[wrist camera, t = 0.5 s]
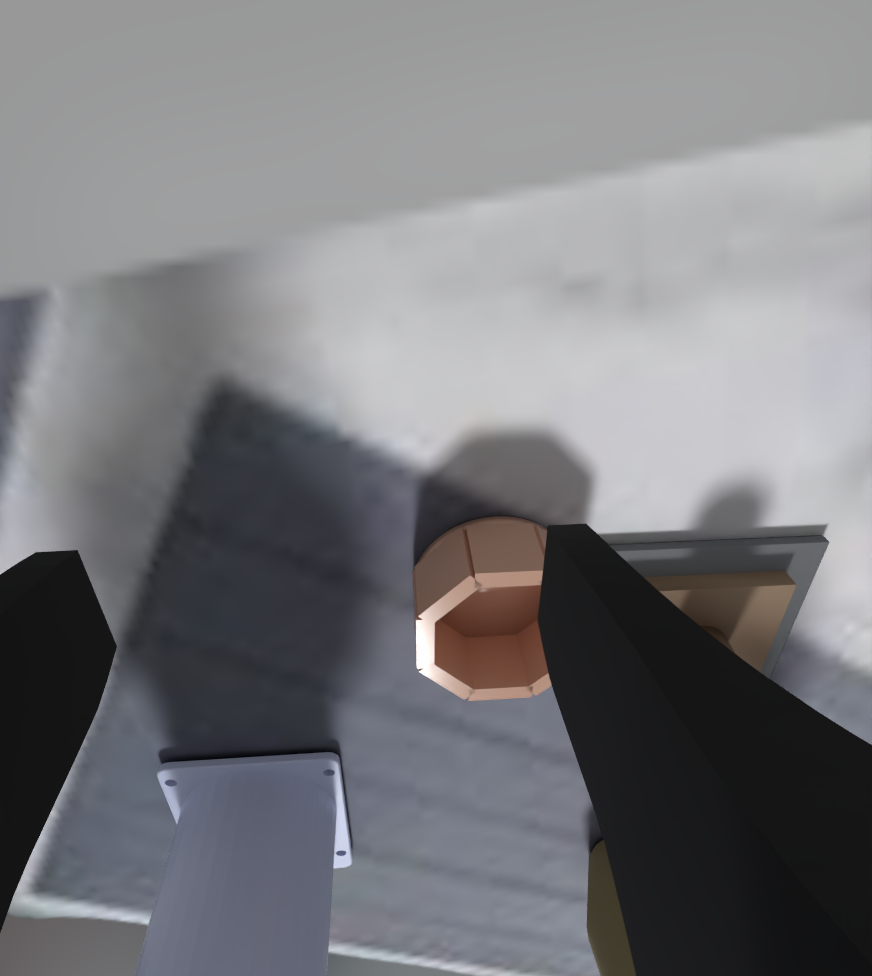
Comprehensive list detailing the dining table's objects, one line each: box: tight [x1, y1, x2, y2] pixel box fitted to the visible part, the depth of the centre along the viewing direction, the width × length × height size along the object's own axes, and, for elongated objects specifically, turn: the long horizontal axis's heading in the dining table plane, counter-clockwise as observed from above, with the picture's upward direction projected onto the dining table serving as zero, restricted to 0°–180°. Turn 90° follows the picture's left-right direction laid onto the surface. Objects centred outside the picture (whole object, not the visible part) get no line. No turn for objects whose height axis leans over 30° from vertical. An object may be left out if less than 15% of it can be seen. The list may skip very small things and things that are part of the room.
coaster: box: [609, 536, 829, 678], centre depth 25 cm, size 9×9×1 cm
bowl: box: [413, 516, 552, 701], centre depth 22 cm, size 6×6×3 cm
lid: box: [644, 571, 797, 672], centre depth 23 cm, size 6×6×5 cm
